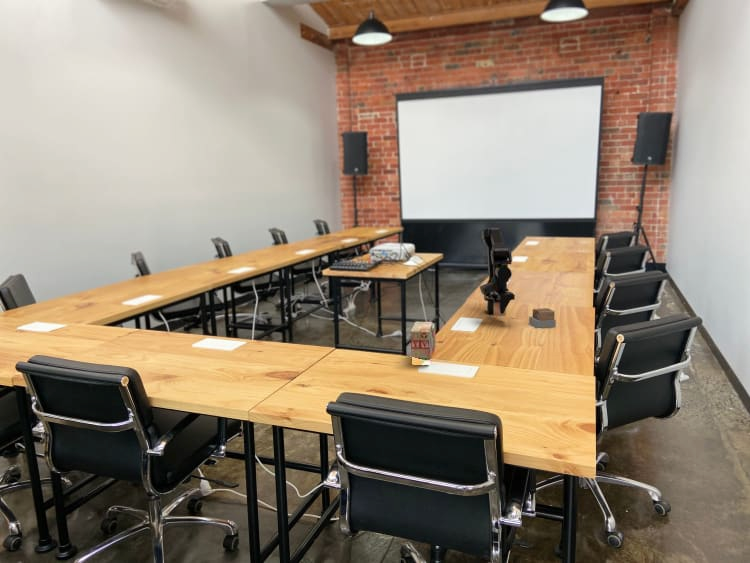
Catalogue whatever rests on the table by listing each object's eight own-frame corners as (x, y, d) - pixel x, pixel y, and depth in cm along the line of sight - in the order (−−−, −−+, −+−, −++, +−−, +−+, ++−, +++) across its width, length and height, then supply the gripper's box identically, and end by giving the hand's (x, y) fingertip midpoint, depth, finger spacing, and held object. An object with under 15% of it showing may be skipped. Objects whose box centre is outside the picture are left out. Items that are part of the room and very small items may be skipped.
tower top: (532, 317, 229) (532, 308, 228) (547, 316, 230) (547, 308, 229) (539, 320, 223) (539, 312, 222) (554, 319, 224) (554, 311, 223)
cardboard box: (418, 347, 203) (418, 315, 201) (435, 347, 202) (435, 315, 200) (411, 365, 183) (410, 330, 180) (429, 366, 181) (429, 331, 179)
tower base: (529, 324, 231) (529, 316, 230) (546, 323, 231) (547, 315, 231) (536, 329, 223) (537, 321, 222) (555, 328, 224) (555, 320, 223)
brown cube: (491, 313, 236) (491, 302, 235) (503, 312, 237) (503, 301, 236) (495, 316, 231) (496, 304, 230) (507, 315, 232) (507, 304, 231)
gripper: (475, 273, 239) (474, 308, 242) (489, 281, 221) (488, 318, 224) (499, 272, 241) (498, 307, 243) (515, 279, 222) (514, 316, 225)
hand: (499, 312), depth 234 cm, fingers closed on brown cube, 5 cm apart
